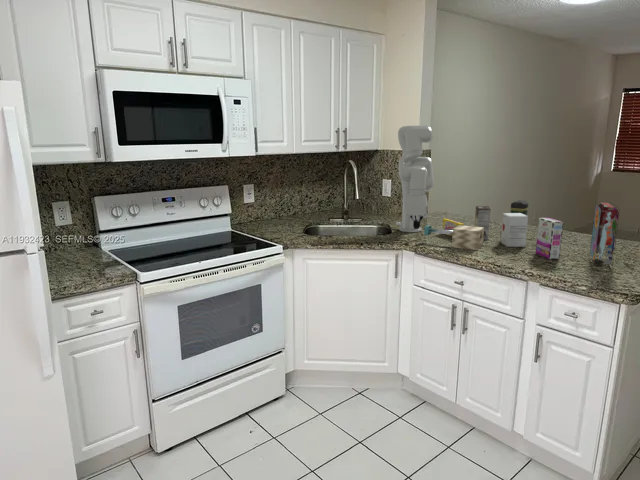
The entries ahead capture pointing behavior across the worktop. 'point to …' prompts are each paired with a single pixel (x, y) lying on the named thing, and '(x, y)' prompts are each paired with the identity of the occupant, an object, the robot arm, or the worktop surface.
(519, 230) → the supplement box
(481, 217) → the coffee box
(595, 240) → the box
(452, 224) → the candy box
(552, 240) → the candy bar box
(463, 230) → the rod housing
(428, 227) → the teal and silver rod
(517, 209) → the coffee jar
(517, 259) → the worktop surface
